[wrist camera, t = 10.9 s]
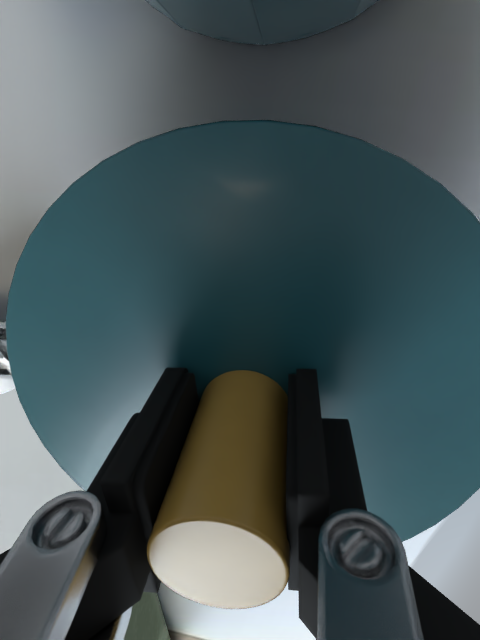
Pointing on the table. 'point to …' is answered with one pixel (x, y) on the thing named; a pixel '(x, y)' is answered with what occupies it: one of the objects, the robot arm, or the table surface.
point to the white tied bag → (4, 363)
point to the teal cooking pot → (260, 17)
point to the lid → (255, 332)
